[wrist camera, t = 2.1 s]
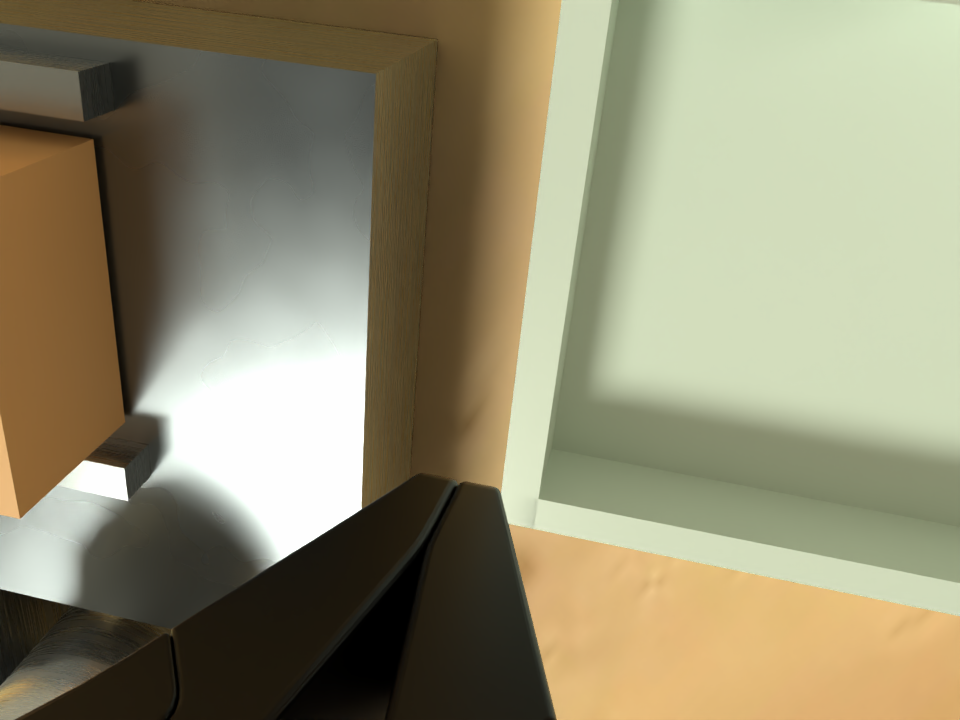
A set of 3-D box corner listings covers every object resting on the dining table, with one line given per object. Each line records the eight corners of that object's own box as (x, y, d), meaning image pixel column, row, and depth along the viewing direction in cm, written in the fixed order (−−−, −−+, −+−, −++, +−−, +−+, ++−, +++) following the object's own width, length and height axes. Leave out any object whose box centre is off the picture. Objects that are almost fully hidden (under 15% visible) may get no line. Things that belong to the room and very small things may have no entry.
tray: (1422, -11, 11) (1561, 7, 9) (1109, 569, 15) (1163, 657, 13) (591, -97, 12) (574, -96, 11) (518, 455, 16) (497, 521, 15)
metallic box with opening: (437, 39, 13) (357, 84, 10) (388, 803, 22) (335, 961, 18) (-152, -37, 15) (-386, -19, 12) (12, 707, 23) (-99, 839, 20)
